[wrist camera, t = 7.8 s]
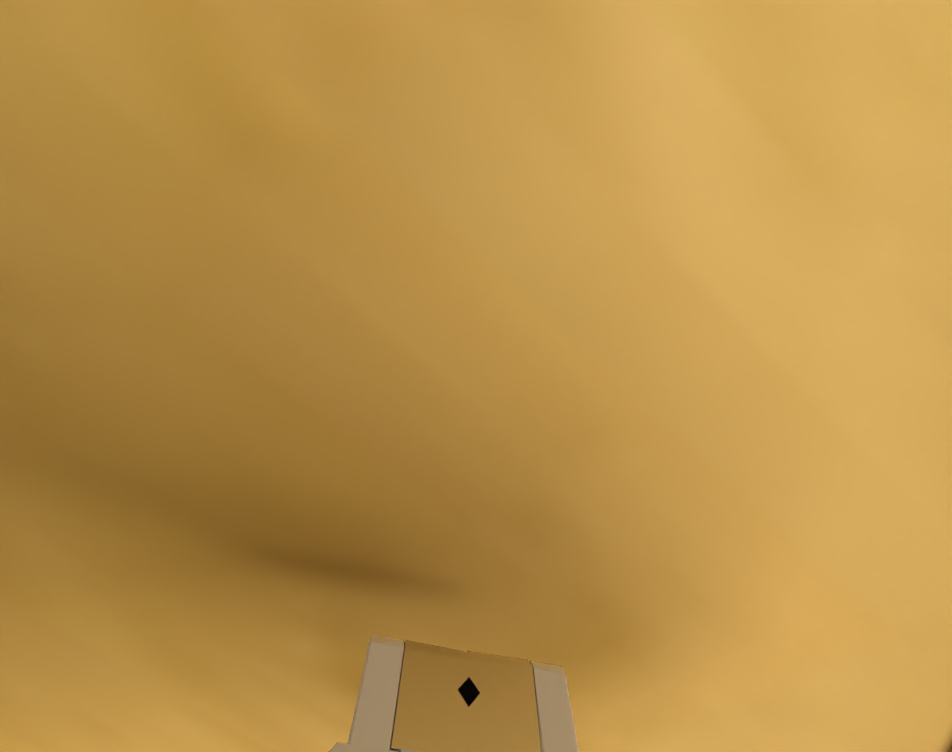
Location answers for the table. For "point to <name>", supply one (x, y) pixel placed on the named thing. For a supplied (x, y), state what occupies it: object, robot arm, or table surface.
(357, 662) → the table surface
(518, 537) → the table surface
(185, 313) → the table surface
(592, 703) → the table surface
